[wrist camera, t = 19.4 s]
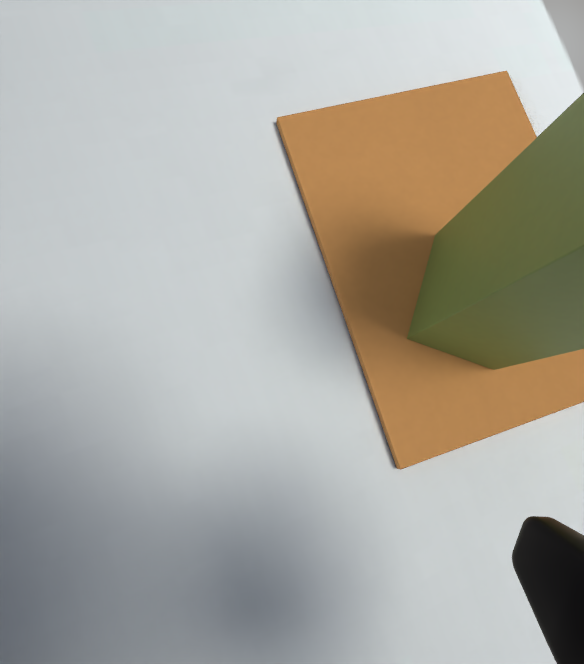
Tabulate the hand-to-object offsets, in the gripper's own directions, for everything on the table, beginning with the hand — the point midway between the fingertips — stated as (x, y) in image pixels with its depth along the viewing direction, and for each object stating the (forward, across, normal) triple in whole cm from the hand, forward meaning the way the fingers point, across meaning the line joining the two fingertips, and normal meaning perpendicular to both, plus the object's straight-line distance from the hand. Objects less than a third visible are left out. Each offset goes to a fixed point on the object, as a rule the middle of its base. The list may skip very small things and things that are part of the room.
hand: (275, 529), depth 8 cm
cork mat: (+14, -9, -4) cm, 17 cm away
